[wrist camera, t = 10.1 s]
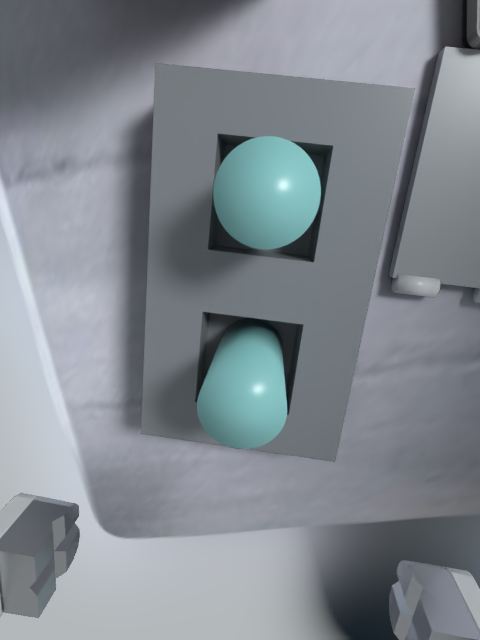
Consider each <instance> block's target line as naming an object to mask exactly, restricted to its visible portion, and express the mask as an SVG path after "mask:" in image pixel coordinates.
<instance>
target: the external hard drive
mask: <svg viewBox="0 0 480 640" xmlns="http://www.w3.org/2000/svg"><path fill="white" fill-rule="evenodd" d="M463 46H464V48H467V49H478V50H480V0H463Z"/></svg>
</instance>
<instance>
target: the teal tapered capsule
mask: <svg viewBox="0 0 480 640" xmlns="http://www.w3.org/2000/svg"><path fill="white" fill-rule="evenodd" d="M197 414H198V417H199V420H200V423H201V425H202V426H203V428H204V429H205V431H206V432H207V433H208V434H209V435H210V436H211V437H212V438H213V439H215V440H216V441H218V442H219V443H221V444H223V445H225V446H228V447H232V448H237V449H251V448H256V447H260V446H262V445H265V444H266V443H268V442H270V441H271V440H272V439H274V438H275V437H276V436H277V435H278V434H279V432H280V431H281V430H282V428H283V426H284V424H285V421H286V417H287V400H286V388H285V376H284V365H283V353H282V343H281V339H280V336H279V334H278V332H277V331H276V330H275V328H274V327H273V326H271V325H270V324H269V323H267V322H266V321H263V320H261V319H256V318H244V319H240V320H238V321H236V322H234V323H232V324H231V325H230V326H229V327H228V328H227V329H226V330H225V332H224V334H223V336H222V338H221V340H220V343H219V345H218V348H217V350H216V353H215V355H214V358H213V360H212V363H211V365H210V368H209V370H208V373H207V375H206V378H205V380H204V383H203V385H202V388H201V390H200V393H199V396H198V400H197Z"/></svg>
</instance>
